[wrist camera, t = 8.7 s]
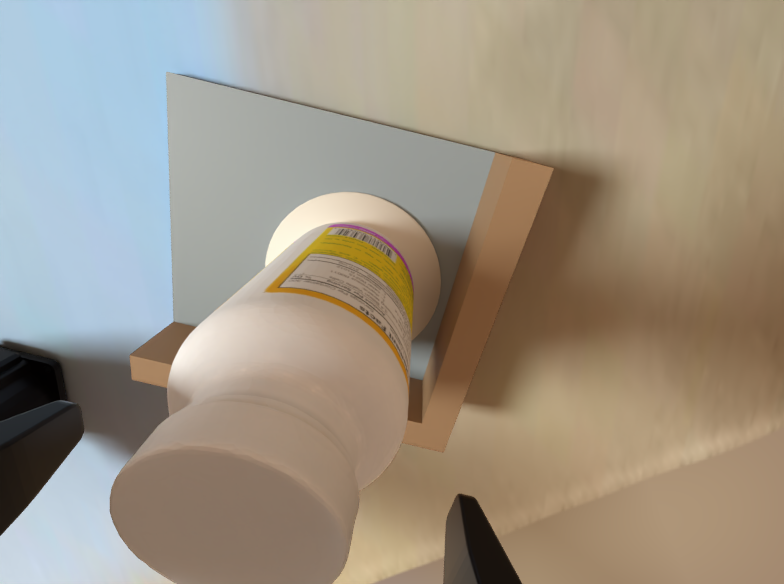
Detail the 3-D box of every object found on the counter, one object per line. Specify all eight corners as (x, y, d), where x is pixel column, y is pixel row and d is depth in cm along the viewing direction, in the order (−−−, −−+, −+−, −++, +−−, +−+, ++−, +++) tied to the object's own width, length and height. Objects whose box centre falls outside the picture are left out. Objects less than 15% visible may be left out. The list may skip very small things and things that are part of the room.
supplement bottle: (317, 352, 21) (174, 645, 9) (263, 243, 18) (-29, 446, 7) (432, 321, 19) (443, 620, 7) (390, 199, 17) (309, 356, 5)
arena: (440, 399, 22) (443, 452, 19) (180, 338, 22) (131, 379, 18) (525, 159, 16) (554, 168, 13) (174, 73, 16) (102, 57, 13)
